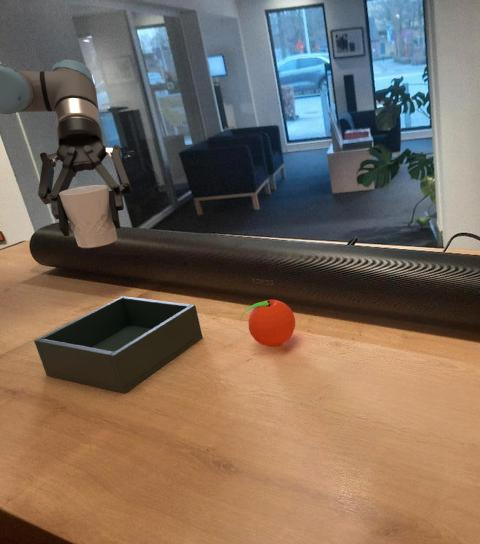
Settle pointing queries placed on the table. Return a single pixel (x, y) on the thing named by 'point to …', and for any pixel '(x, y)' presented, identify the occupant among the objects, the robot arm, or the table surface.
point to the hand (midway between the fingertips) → (90, 228)
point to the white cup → (89, 215)
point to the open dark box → (119, 342)
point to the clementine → (271, 322)
